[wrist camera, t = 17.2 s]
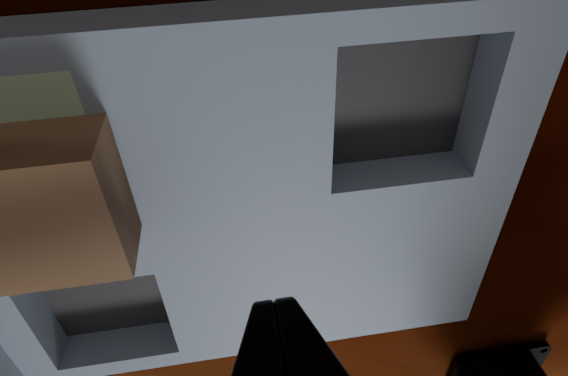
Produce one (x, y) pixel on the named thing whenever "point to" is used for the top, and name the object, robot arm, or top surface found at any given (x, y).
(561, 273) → the top surface
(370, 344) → the top surface
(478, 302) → the top surface
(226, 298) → the board
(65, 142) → the brown flat block
